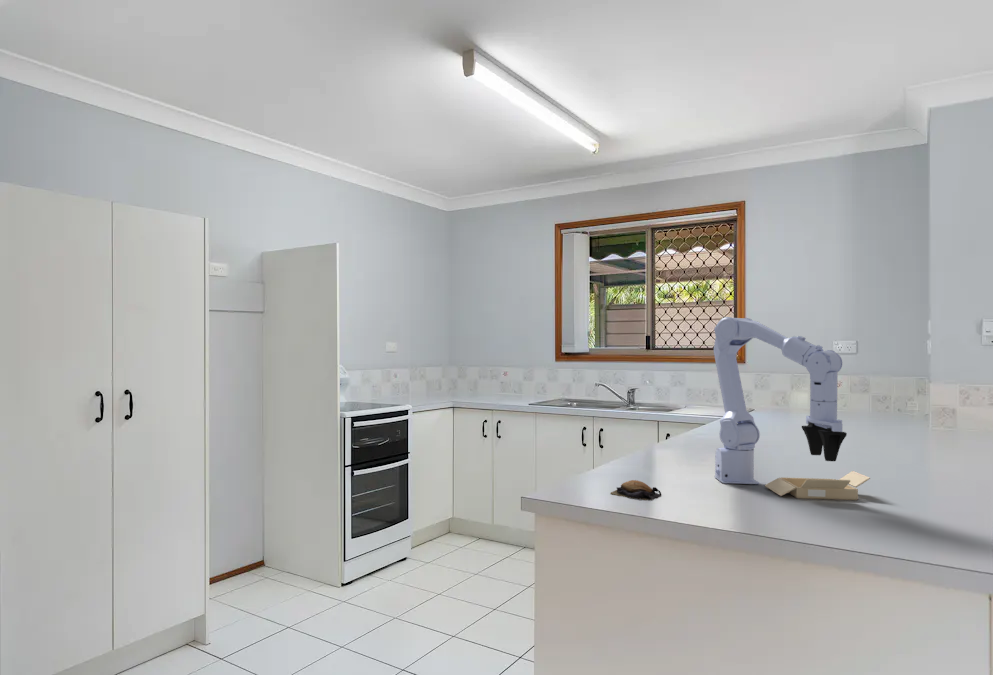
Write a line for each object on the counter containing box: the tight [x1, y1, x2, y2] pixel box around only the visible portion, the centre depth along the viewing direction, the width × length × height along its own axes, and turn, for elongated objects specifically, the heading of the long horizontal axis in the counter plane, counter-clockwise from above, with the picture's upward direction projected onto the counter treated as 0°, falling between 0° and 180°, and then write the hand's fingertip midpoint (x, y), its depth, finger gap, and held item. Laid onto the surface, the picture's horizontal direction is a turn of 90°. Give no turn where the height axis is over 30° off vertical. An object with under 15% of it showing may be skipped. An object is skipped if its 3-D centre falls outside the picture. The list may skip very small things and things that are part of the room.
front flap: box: [801, 478, 850, 489], centre depth 144 cm, size 10×4×1 cm
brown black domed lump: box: [610, 479, 662, 501], centre depth 148 cm, size 11×9×4 cm
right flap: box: [838, 470, 871, 488], centre depth 151 cm, size 4×8×1 cm
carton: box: [764, 477, 859, 501], centre depth 153 cm, size 18×15×3 cm
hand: (823, 458), depth 146 cm, fingers open, 7 cm apart
